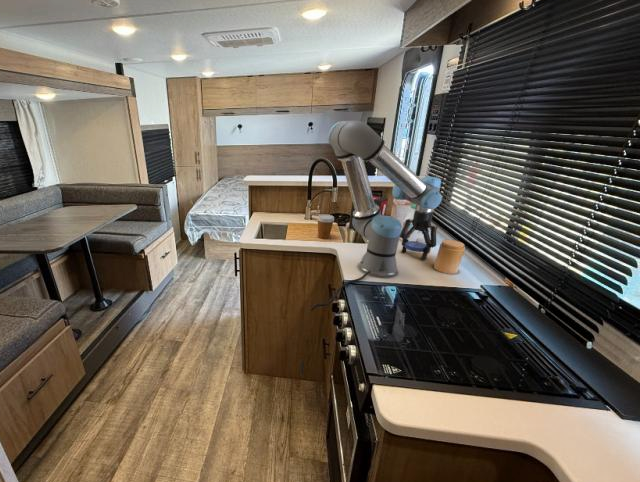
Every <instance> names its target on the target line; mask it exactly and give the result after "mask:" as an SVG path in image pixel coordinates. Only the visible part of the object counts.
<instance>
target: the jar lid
mask: <svg viewBox="0 0 640 482" xmlns="http://www.w3.org/2000/svg"><path fill="white" fill-rule="evenodd" d="M425 246H426V243H424V242H421V241H417V240H416V241H407V242H406V243H405V246H404V247H405V248H406V250H408V251H411V252H415V253H416V252H417V253H423V251H424V247H425Z"/></svg>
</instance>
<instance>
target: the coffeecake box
mask: <svg viewBox="0 0 640 482" xmlns="http://www.w3.org/2000/svg"><path fill="white" fill-rule="evenodd" d="M412 204H413V203H412V202H410V201H407V200H397V199H395V198H394V197H393V203H392V207H391V212H390V217H393V218H396V219H397V220H399V221H400V223H401V225H402V227H401V231H402V228H403V224H404V220H405V218H406V216H407V215H408V213H409V212H410V210H411V209H410V208H411V205H412Z"/></svg>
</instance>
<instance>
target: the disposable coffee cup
mask: <svg viewBox="0 0 640 482" xmlns="http://www.w3.org/2000/svg"><path fill="white" fill-rule="evenodd" d="M316 220H317V237H318V238H320V239H322V240H323V239H324V240H326V239H330V237H331V232H332V228H333V225H334V222H335V216H333V215H331V214H325V213H324V214H323V213H322V214H318V215H317V217H316Z"/></svg>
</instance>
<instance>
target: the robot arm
mask: <svg viewBox="0 0 640 482" xmlns="http://www.w3.org/2000/svg"><path fill="white" fill-rule="evenodd" d="M327 142H328V144H329V146H330V148H332V149H333V151H334V155H335V157H336V160H338V161H340V162H341V165H342V169H343V172H344V175H345V179H346V182H347V186H348V190H349V194H350V197H351V201H352V202H353V204H354V208H355V210H354V212H353V217H354V218H353V220H352V223H353V227H354V228H355V230H354V231H356V233H358V234H359V235H360V236H362V237H363V238H364V239H366V240H367V247H366V251H365V253H364V255H363V257H362V258H361V260H360V262H359V269H360V270H361V271H362V272H363V273H364V274H363V275H362V276H361V277H358V278H355V279H352V280H349V281H346V282H345V283H343V284H342V285H341V286H339V287H338V288H337V290H336V291H335V293H334V295H333V296H332V297H331V299H329V300H328V301H327V302H325V303H323V302H322V303H316V304H314V305H313V306H312V307H311V308H310V309H309V311H311V312H313V311H314V310H315V309H316V308H317V307H326V306H328V305H330V304H331V303H332V302H333V301H334V300H335V299H336V297H337V296H338V295H339V293H340V292H341V290H342V289H343V288H344V287H346V286H348V285H349V284H352V283H355V282H359V281H361V280H364V279H365V278H366V277H367V276H368V275H370V276H372V277H378V278H391V277H394V276H396V275H397V272H398V266H397V258H396V255H397V251H398V245H399V242H400V238H402V239H403V240H402V241H401V246H402V249H401V253H402V254H403V253H406V252H407V249H406V248H405V247H404V246H405V243H406V242H407V241H409V240H408V237H409V236H410V235H411V234H412V233H413V232H414V231H415V230H418V232H421V234H422V235H423V239H424V242H425V243H424V244H426V246H425V247H424V251H423V252H422V255H421V260H422V261H424V260H426V259H427V257H428V254H430V253H431V249H432V248H435V247H437V230H438V225H433V224H432V223H431V222H432V220H433V216H434V211H435V209H436V208H437V207H438V206H440V205H441V202H442V199H443V196H442V194H441V193H440V189H441V185H442V179H441V178H440V177H437V176H424V177H419V176H418V175H417V174H416V173H415V172H414V171H413V169H411V168H409V166H407V164H405V163H404V162H403V161H402V160H401V159H400V158H399V157H398V156H397V155H395V153H393V151H392V150H390V149H389V148H388V147H387V146H386V145H385V144H386V141H385V140H384V139H383V138H382V137H381V136H380V135H379V134H378V133H377V132H376V131H375V130H374V129H373V128H372V127H370V125H368V124H367V123H365V122H363V121H361V120H349V119H344V120H341V121H338V122H336V123H335V124H333V125H332V126H331V128H330V130H329V131H328V134H327ZM365 162H369V163H370V164H371V165H372V166H373V167H375V168H376V170H378V171H379V172H380V173H381V174H382V175H384V176H385V177H386V178H387V179H388V180H389V181H391V183H393V184H394V186H393V187H392V193H391V195H392V197H393V199H394V198H395V199H397V200H407V201H410V202H412V203H411V204H416V208H415V210H416V211H415V212H414V216H413V220H411V219H407V220H406V222H405V226H404V228H403V229H402V231H401V227H402V225H401V223H400V221H399V220H397V219H396V218H393V217H391V215H386V214H385V215H381V212H380V208H379V206H378V205H376V204H375V203H374V199H373V196H374V195H373V191H372V187H371V183H370V180H369V176H368V172H367V168H366V164H365ZM411 223H412V224H413V227H412V228H411V229H410V230H409V231H408V232H407V230H408V228H409V226H410V224H411ZM406 232H407V234H406ZM429 232H430V233H429ZM405 234H406V235H405ZM404 235H405V236H404ZM304 368H305V361H304V359H302V360H301V366H300V374H301V375H303V374H304Z"/></svg>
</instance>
